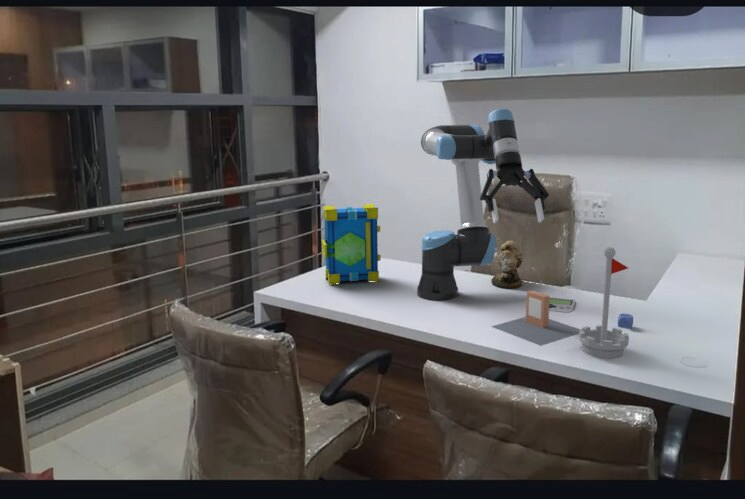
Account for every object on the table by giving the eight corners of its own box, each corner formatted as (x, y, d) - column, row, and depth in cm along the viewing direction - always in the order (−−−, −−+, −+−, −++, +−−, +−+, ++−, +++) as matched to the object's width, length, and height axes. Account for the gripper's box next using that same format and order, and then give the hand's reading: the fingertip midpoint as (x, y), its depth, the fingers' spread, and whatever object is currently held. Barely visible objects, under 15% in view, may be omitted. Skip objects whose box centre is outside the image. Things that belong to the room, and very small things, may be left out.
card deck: (525, 321, 199) (526, 291, 197) (530, 320, 201) (532, 290, 199) (542, 328, 194) (544, 297, 192) (548, 326, 195) (549, 295, 193)
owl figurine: (489, 276, 255) (490, 235, 252) (518, 277, 254) (520, 236, 251) (493, 289, 238) (495, 245, 234) (525, 289, 237) (527, 245, 233)
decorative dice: (631, 330, 192) (631, 318, 192) (617, 328, 194) (618, 316, 193) (632, 326, 196) (633, 314, 195) (619, 324, 198) (620, 312, 197)
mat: (490, 328, 196) (490, 326, 196) (534, 315, 207) (534, 314, 207) (540, 347, 180) (540, 345, 180) (585, 333, 191) (585, 331, 191)
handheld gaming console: (540, 308, 211) (546, 296, 225) (540, 312, 211) (546, 300, 225) (571, 311, 207) (575, 298, 221) (571, 316, 208) (575, 303, 221)
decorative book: (322, 277, 257) (320, 205, 251) (377, 274, 261) (376, 203, 255) (326, 287, 244) (324, 211, 237) (384, 283, 248) (383, 208, 241)
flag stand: (572, 354, 175) (578, 249, 168) (585, 339, 185) (592, 240, 179) (621, 363, 168) (630, 255, 161) (632, 348, 178) (640, 245, 172)
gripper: (470, 149, 182) (480, 215, 174) (551, 150, 186) (565, 214, 178) (463, 163, 189) (473, 227, 181) (542, 163, 193) (554, 225, 185)
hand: (518, 221), depth 179 cm, fingers open, 13 cm apart
